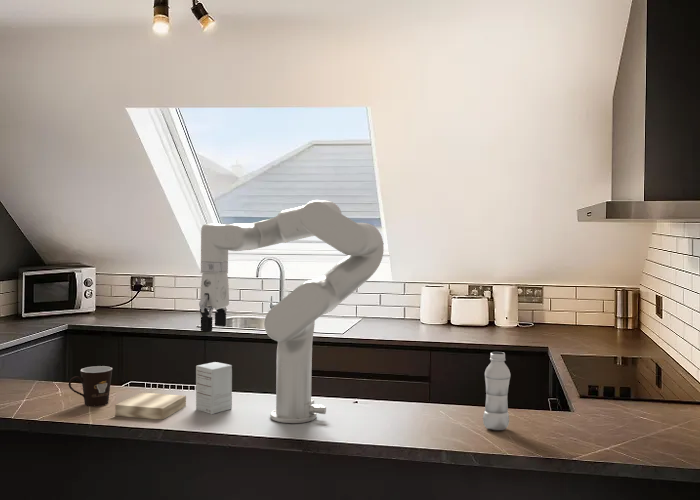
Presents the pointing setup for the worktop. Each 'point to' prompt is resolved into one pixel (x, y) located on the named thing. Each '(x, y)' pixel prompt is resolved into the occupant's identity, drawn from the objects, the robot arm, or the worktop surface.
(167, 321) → the worktop surface
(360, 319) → the worktop surface
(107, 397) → the coffee mug
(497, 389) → the plastic bottle
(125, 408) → the block
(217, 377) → the supplement box
